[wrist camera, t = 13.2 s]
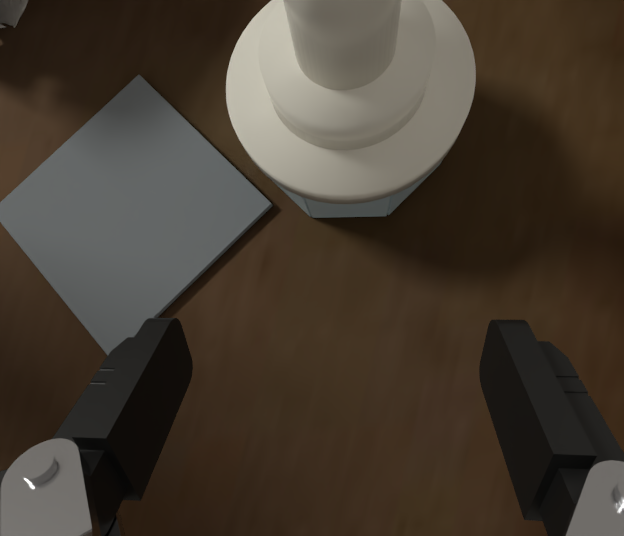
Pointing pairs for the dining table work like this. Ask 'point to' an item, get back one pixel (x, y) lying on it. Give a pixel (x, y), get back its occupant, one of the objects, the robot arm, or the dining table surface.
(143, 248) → the mat
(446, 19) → the lid
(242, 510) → the dining table surface
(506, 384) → the robot arm
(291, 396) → the dining table surface
